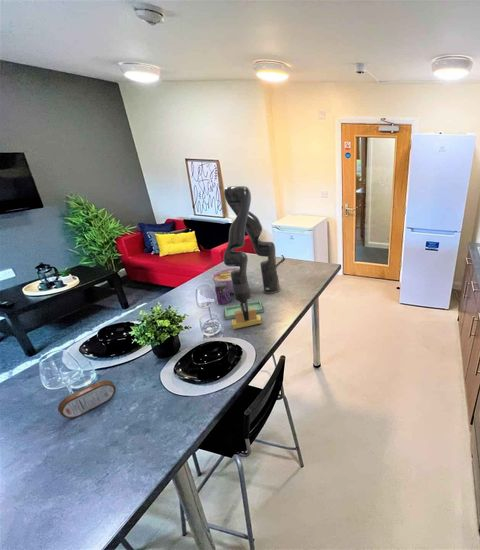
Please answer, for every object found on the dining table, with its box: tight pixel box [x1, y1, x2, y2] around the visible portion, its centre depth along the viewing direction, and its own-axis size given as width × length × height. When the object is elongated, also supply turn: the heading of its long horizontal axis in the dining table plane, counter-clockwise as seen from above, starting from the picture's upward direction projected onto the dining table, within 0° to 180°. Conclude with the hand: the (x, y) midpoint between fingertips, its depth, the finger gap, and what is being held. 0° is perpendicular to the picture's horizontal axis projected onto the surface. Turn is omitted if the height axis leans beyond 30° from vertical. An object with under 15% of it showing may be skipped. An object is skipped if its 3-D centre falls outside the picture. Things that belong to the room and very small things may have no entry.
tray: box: [224, 300, 264, 320], centre depth 164 cm, size 10×19×2 cm, turn 116°
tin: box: [57, 379, 117, 419], centre depth 102 cm, size 15×3×8 cm, turn 145°
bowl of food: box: [211, 267, 240, 294], centre depth 185 cm, size 20×20×12 cm
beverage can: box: [214, 282, 231, 305], centre depth 171 cm, size 7×7×12 cm
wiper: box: [231, 308, 262, 330], centre depth 150 cm, size 5×14×8 cm, turn 115°
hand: (246, 318), depth 151 cm, fingers closed on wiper, 2 cm apart
